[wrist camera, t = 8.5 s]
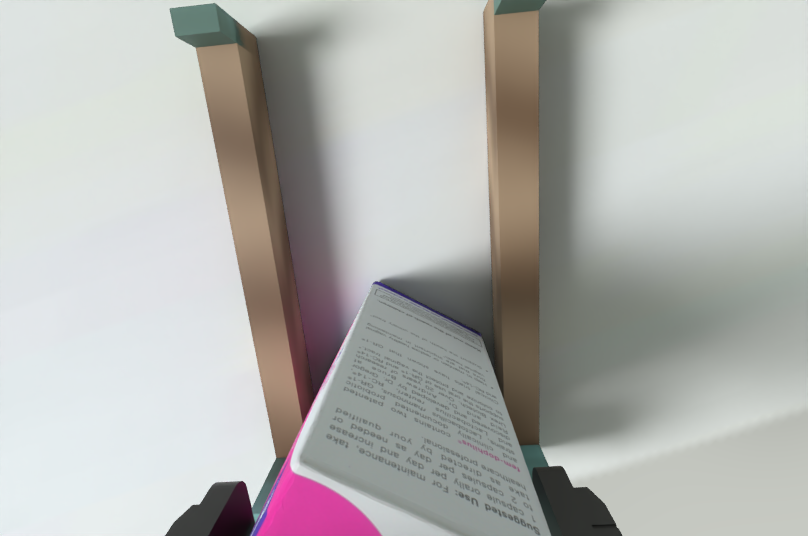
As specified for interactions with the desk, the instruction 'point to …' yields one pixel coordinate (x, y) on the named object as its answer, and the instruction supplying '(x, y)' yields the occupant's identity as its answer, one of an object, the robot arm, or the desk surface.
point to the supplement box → (405, 437)
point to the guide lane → (267, 233)
